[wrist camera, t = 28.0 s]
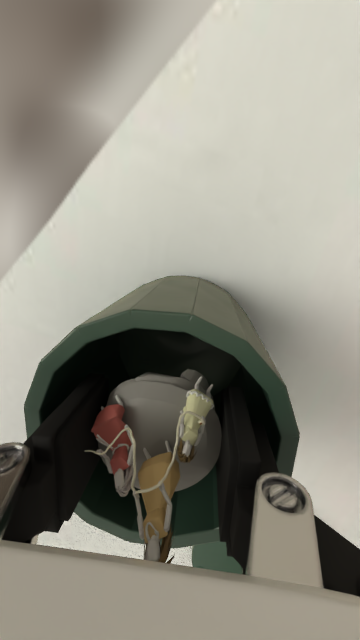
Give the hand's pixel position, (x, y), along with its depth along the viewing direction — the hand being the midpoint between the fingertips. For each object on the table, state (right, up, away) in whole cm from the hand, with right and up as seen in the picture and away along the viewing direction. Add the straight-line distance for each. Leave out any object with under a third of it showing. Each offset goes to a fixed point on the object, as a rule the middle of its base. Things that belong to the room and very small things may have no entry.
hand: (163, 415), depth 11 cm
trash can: (+1, +2, +7) cm, 8 cm away
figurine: (0, 0, +1) cm, 1 cm away
